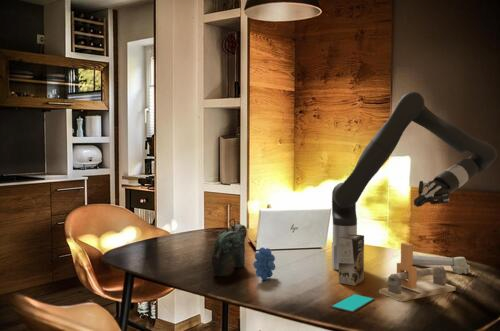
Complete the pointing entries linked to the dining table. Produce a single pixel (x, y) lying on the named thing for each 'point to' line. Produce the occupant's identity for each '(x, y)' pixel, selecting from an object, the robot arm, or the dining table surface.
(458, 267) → the toothbrush head
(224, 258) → the dark green backpack
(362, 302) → the smartphone
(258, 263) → the grapes
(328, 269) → the dining table surface
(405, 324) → the dining table surface
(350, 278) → the coffee box
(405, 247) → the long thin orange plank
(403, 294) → the pipe stand
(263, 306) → the dining table surface
